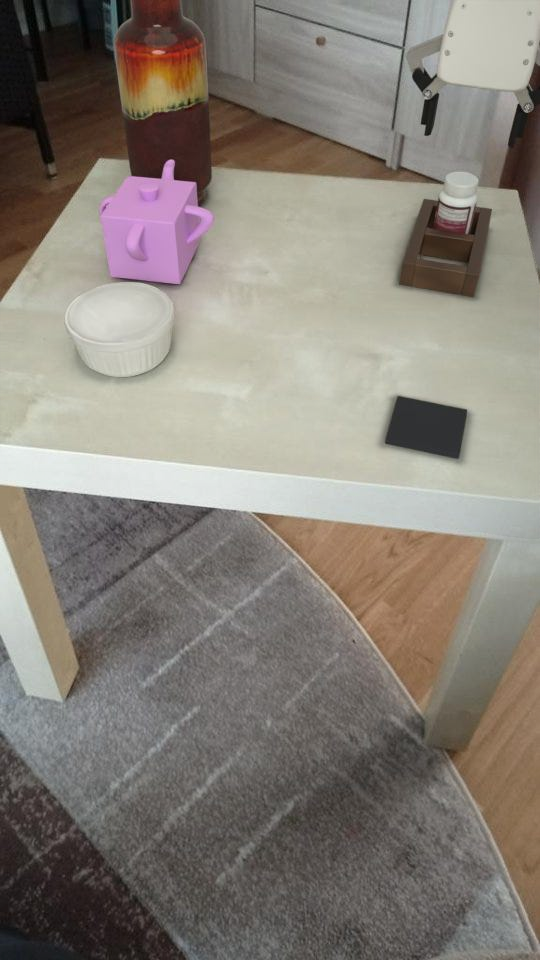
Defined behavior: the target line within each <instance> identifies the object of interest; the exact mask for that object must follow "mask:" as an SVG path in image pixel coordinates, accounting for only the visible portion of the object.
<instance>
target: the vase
mask: <svg viewBox="0 0 540 960" xmlns="http://www.w3.org/2000/svg"><path fill="white" fill-rule="evenodd" d="M129 2H130V10H131V17H130V18H129V19H127V20H126V21H124V22H122V24H121V25H120V26H119V28H118V29H117V30H116V33H115V35H114V37H113V50H114V58H115V59H114V61H115V66H116V75H117V81H118V91H119V96H120V104H121V112H122V119H123V127H124V134H125V141H126V148H127V157H128V163H129V170H130V176H134V177H145V178H156V179H161V178H162V173H163V168H164V165H165V163H166V162H167V161H168V160H174V161H175V166H174V180H177V181H187V182H196V185H197V201H198V207H201V206H202V204H203V203H204V202H205V200H206V198H207V194H206V190H205V189H206V188H207V187H208V186H209V185H210V183H211V181H212V176H213V174H212V172H213V171H212V170H213V169H212V144H211V143H212V142H211V125H210V124H211V123H210V102H209V99H210V98H209V84H208V83H209V82H208V81H209V80H208V63H207V48H206V38H205V34H204V33H203V32H202V30H201V28H200V27H199V26H198V24H196V23H195V22H194V21H192V20H191V19H189V18H188V17H185V16H184V14H183V6H182V0H130V1H129Z"/></svg>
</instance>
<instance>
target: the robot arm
mask: <svg viewBox="0 0 540 960" xmlns="http://www.w3.org/2000/svg"><path fill="white" fill-rule="evenodd" d="M437 53H438V57H437V58H438V59H437V66H436V72H435V74H434V75H432V77H431V76H430V74H429V73H428V71H427V70H426V68H425V67H424V65H423V60H422V59H424V58H427V57H429V56H432V55H434V54H437ZM405 58H406V62H407V64H408V67H409V71H410V73H411V79H412V81H413V82H414V84H415V85H416V86H417V88H418V89H419V91H420V92H421V93H422V98H423V99H424V100H423V107H422V113H421V118H420V125H421V126H425V128H424V134H423V136H424V137H430V136H431V135H432V132H433V130H434V127H435V121H436V115H437V110H438V105H439V99H440V93H439V92H440V91H441V90H442V88H444V87H445V86H446V85H451V86H455V87H465V88H471V89H480V90H487V91H494V92H495V91H496V92H504V93H513V94H514V96H515V98H516V100H517V102H518V103H517V104H516V109H515V112H514V116H513V121H512V124H511V128H510V132H509V136H508V141H507V147H508V148H509V149H514V147H515V144H516V140H517V139H523V138H524V133H525V130H526V127H527V122H528V118H529V116H530V115H529V114H530V113H531V112H532V111H533V110H534V108H535V107H537V106H538V105H540V85H538V86H537V87H535V88H534V89H532V87H531V84H530V79H531V77H532V74H533V71H534V67H535V64H536V65H537V66H538V67H540V0H450V5H449V8H448V13H447V17H446V20H445V24H444V29H443V33H442V34H439V35H437V36H435V37H433V38H430V39H428V40H425V41H424V42H423V41H422V42H421V43H419V44H416V45H414V46H411V47H410V48H409V49H408V50H407V52H406V56H405Z"/></svg>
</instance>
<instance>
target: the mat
mask: <svg viewBox="0 0 540 960" xmlns="http://www.w3.org/2000/svg"><path fill="white" fill-rule="evenodd" d="M467 414H468V409H466V408H461V407H458V406H457V407H456V406H451V405H446V404H441V403H437V402H431V401H426V400H423V399H422V400H421V399H415V398H411V397H407V396H402V395H397V397H396V401H395V405H394V409H393V412H392V416H391V419H390V423H389V427H388V431H387V434H386V437H385V442H384V443H385V444H387V445H392V446H395V447H401V448H405V449H409V450H410V449H411V450H413V451H414V450H415V451H420V452H424V453H429V454H433V455H437V456H442V457H448V458H451V459H459V458H460V454H461V449H462V443H463V437H464V432H465V426H466V421H467Z"/></svg>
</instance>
